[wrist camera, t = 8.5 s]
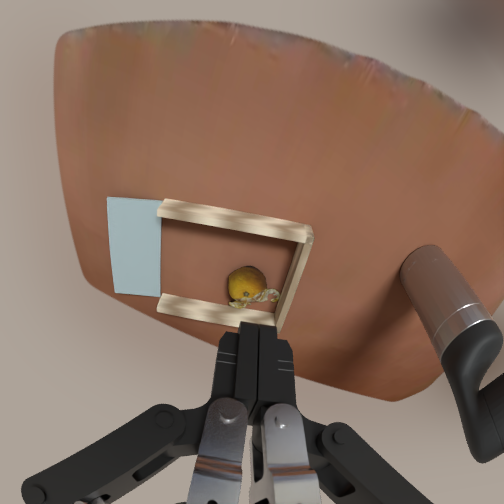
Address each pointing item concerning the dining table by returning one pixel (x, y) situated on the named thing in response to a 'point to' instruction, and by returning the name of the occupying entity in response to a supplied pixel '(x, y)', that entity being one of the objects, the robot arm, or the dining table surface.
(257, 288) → the fruit
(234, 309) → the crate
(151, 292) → the panel
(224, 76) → the dining table surface
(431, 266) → the robot arm
